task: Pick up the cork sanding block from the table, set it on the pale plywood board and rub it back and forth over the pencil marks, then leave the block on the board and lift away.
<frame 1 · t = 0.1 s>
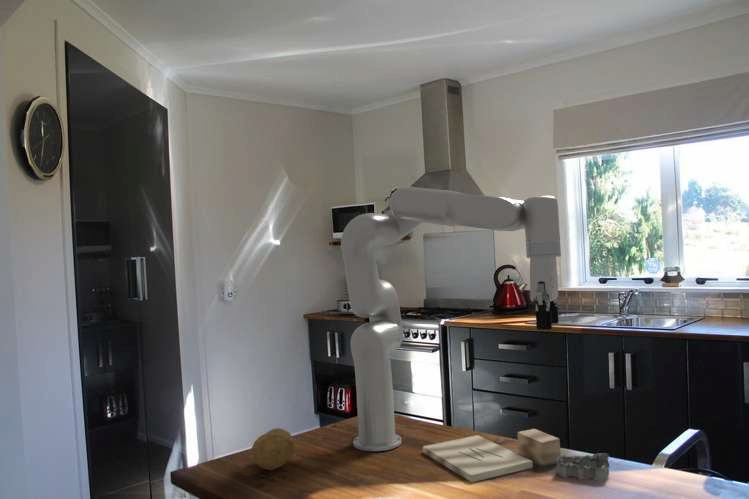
hand: (547, 326, 134), 31 cm above the table, tool pointing down, fingers open, 9 cm apart
board: (475, 459, 138), on the table
potato: (273, 468, 141), on the table
egg carton: (583, 475, 127), on the table
sanding block: (539, 458, 137), on the table
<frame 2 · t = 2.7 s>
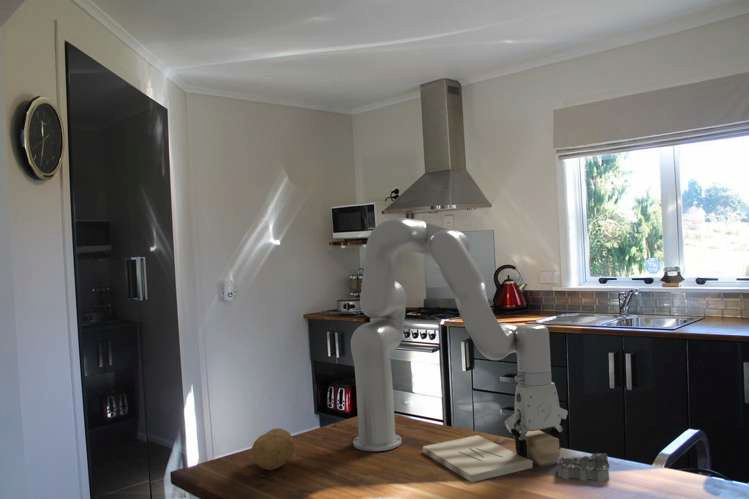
hand: (538, 451, 137), 2 cm above the table, tool pointing down, fingers open, 9 cm apart
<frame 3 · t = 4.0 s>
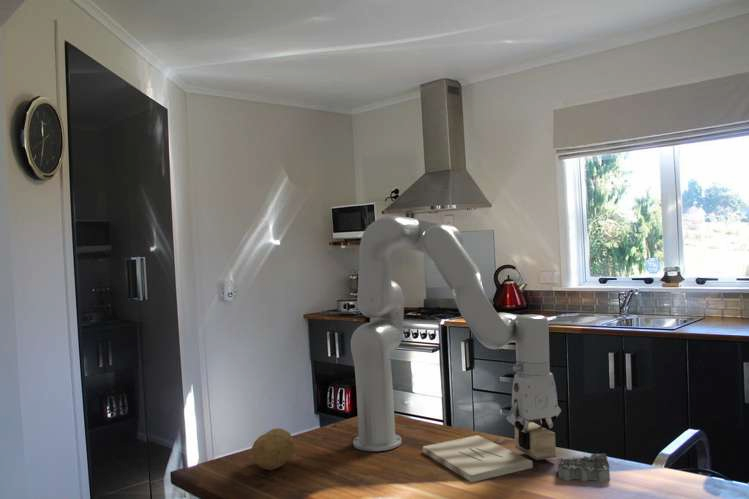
hand: (534, 445, 137), 3 cm above the table, tool pointing down, fingers closed on sanding block, 5 cm apart
sanding block: (534, 452, 137), point 1 cm above the table, touching gripper
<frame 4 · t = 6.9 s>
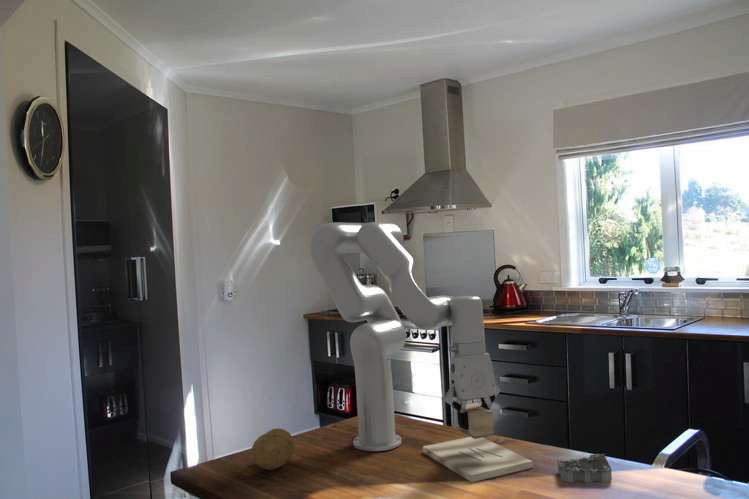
hand: (474, 425, 138), 8 cm above the table, tool pointing down, fingers closed on sanding block, 5 cm apart
sanding block: (475, 432, 138), point 6 cm above the table, touching gripper
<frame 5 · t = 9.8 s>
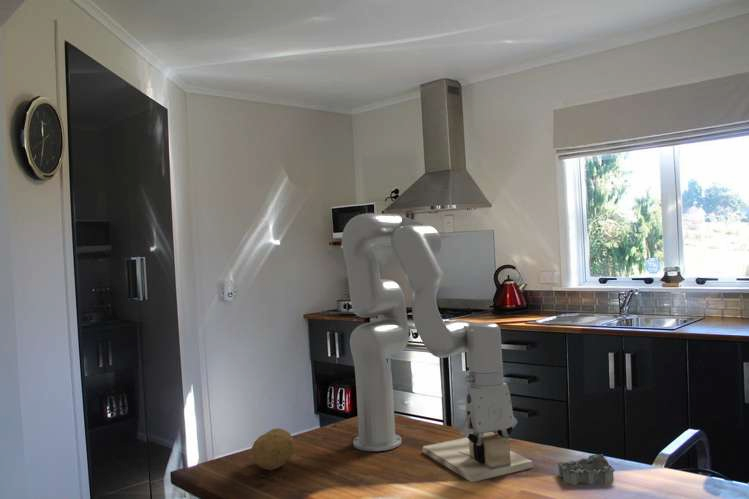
hand: (490, 458, 132), 2 cm above the table, tool pointing down, fingers closed on sanding block, 5 cm apart
sanding block: (489, 461, 133), point 2 cm above the table, touching gripper
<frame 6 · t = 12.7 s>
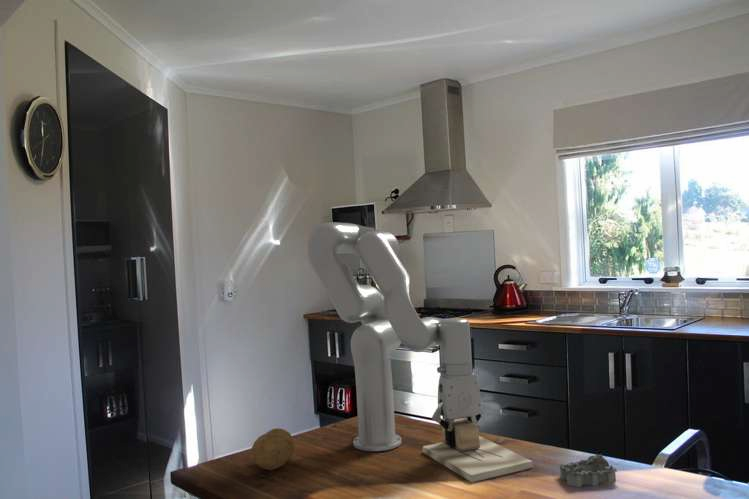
hand: (461, 442, 144), 2 cm above the table, tool pointing down, fingers closed on sanding block, 5 cm apart
sanding block: (460, 444, 144), point 2 cm above the table, touching gripper
when the fingers open (2 cm above the table, at t = 15.4 s): sanding block stays where it is, resting on board.
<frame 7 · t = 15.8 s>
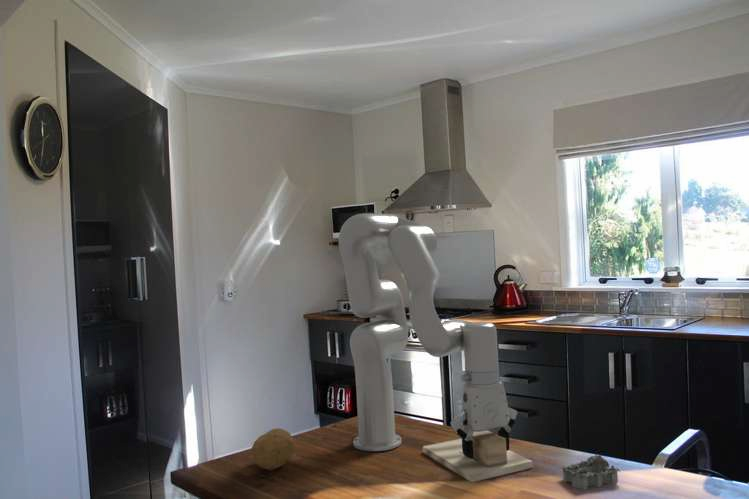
hand: (486, 452, 134), 3 cm above the table, tool pointing down, fingers open, 9 cm apart
sanding block: (486, 459, 134), point 2 cm above the table, touching board
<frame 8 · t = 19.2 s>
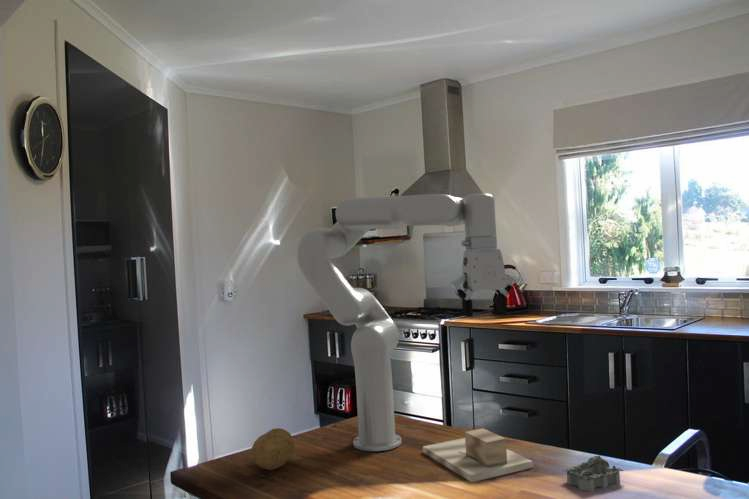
hand: (485, 314, 144), 33 cm above the table, tool pointing down, fingers open, 9 cm apart
at the end: sanding block inside the target area on the board (4.7 cm from its centre), point 1.5 cm above the board's base; sanding block tilted 0°; the gripper is holding nothing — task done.
